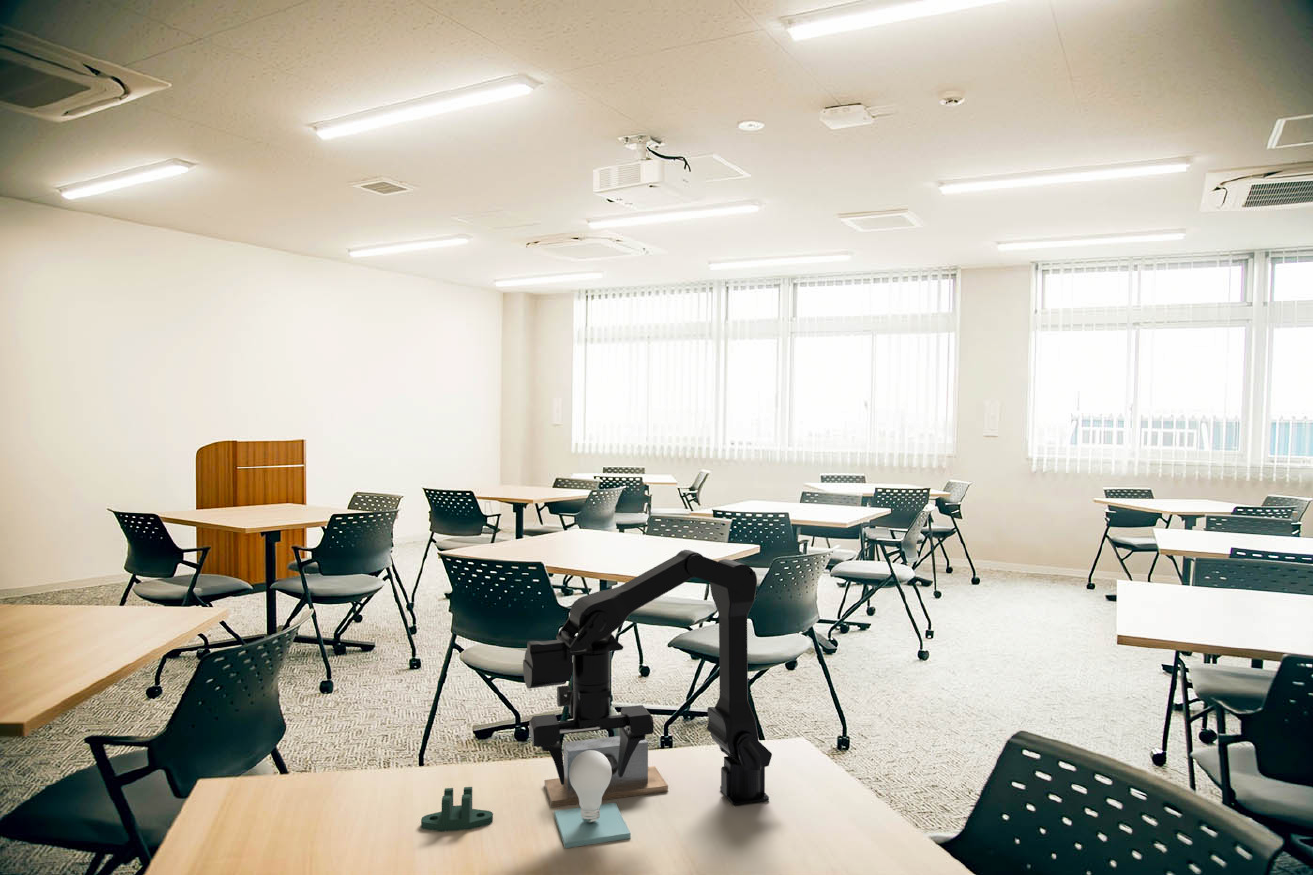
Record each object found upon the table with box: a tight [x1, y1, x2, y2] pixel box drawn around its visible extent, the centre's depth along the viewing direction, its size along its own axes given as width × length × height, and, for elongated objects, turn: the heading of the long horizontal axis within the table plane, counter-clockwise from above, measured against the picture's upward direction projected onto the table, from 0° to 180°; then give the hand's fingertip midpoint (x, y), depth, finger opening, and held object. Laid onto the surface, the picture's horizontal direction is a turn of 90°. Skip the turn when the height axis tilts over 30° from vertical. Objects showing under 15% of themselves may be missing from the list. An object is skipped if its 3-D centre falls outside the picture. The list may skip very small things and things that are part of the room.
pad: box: [553, 802, 631, 849], centre depth 119 cm, size 10×10×1 cm
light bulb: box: [569, 750, 612, 823], centre depth 119 cm, size 7×7×11 cm
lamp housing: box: [544, 735, 669, 808], centre depth 132 cm, size 20×8×8 cm, turn 106°
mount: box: [420, 786, 494, 833], centre depth 120 cm, size 11×4×5 cm, turn 98°
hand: (591, 779), depth 119 cm, fingers open, 9 cm apart
